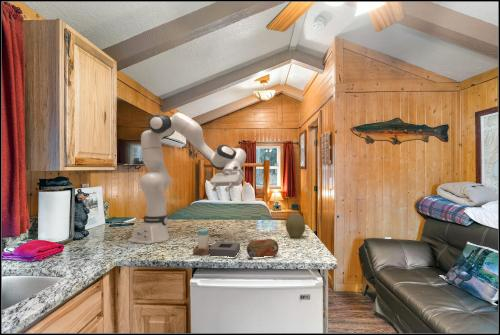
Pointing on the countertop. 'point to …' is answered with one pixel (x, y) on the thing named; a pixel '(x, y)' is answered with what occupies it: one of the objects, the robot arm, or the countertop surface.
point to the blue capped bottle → (203, 239)
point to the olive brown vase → (295, 225)
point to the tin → (262, 248)
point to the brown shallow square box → (201, 251)
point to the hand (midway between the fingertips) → (219, 190)
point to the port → (225, 249)
